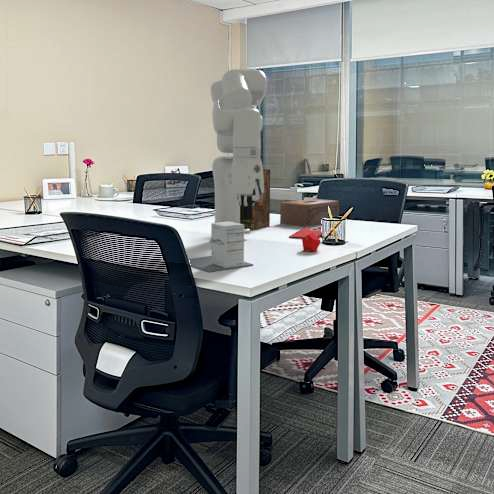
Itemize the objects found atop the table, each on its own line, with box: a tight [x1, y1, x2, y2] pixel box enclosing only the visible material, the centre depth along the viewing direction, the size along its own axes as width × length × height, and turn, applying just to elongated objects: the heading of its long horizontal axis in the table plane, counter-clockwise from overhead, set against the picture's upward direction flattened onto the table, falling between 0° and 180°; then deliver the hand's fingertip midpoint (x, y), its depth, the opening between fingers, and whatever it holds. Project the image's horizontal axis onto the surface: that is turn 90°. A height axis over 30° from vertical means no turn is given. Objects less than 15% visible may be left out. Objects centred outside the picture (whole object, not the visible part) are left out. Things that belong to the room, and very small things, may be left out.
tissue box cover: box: [279, 198, 340, 228], centre depth 268 cm, size 26×14×10 cm, turn 137°
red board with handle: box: [288, 226, 323, 240], centre depth 236 cm, size 30×3×15 cm
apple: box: [301, 233, 321, 253], centre depth 199 cm, size 7×7×8 cm
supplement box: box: [210, 222, 245, 268], centre depth 173 cm, size 7×7×13 cm
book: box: [240, 168, 271, 231], centre depth 249 cm, size 16×6×25 cm, turn 146°
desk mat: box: [188, 255, 254, 273], centre depth 177 cm, size 16×18×1 cm
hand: (246, 219), depth 163 cm, fingers closed
